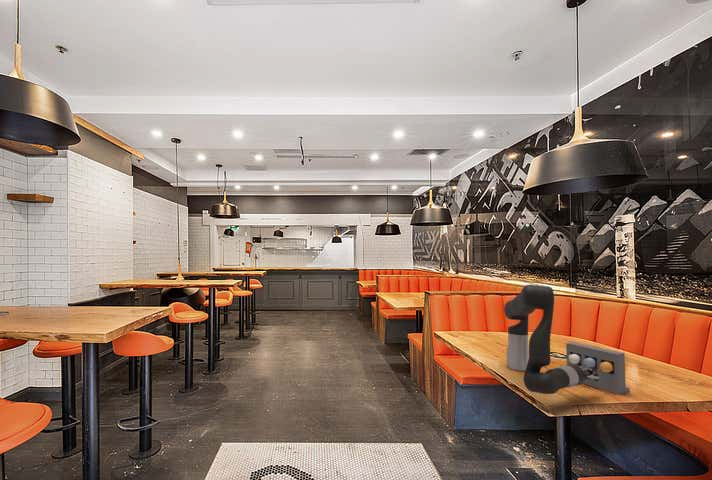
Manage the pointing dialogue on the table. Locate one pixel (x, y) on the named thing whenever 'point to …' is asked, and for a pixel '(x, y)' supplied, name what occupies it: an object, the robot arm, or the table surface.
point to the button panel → (608, 380)
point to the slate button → (590, 362)
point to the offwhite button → (575, 358)
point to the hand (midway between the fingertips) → (594, 369)
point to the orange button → (606, 366)
